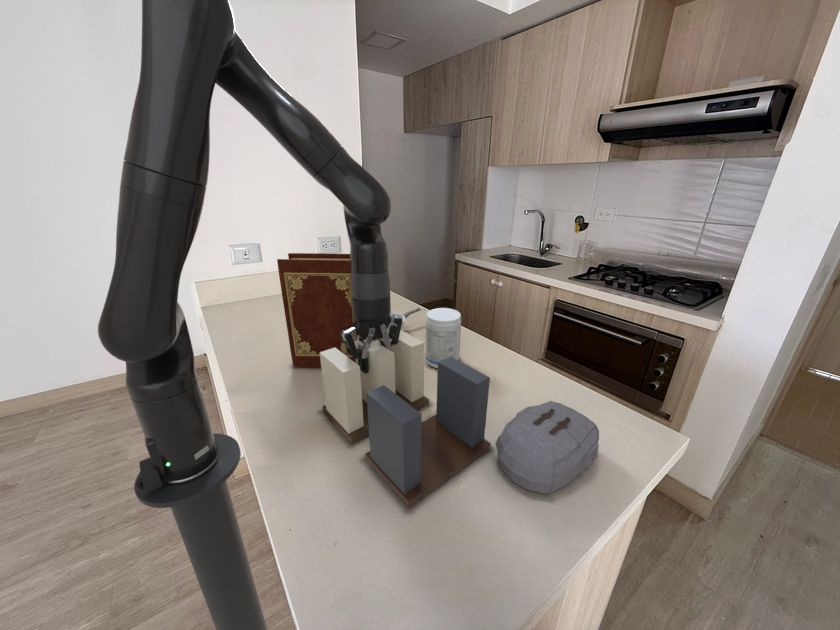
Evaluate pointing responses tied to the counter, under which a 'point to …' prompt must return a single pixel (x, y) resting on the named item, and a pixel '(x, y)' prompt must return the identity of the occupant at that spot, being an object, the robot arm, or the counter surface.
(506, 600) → the counter surface
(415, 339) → the cream book right
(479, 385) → the grey book right
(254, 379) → the counter surface
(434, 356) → the supplement tub
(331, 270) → the decorative book
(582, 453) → the grey rounded bag
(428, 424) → the book rack
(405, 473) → the grey book left
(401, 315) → the saucepan
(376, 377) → the cream book
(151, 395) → the robot arm
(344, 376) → the cream book left
